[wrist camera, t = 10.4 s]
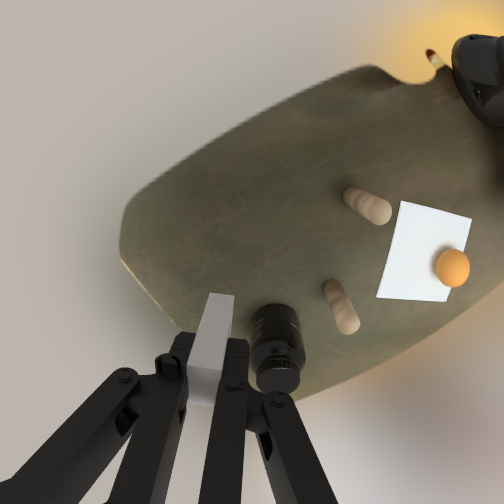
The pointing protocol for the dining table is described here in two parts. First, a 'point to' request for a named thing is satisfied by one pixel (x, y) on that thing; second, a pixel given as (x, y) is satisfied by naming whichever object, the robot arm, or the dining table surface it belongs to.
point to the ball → (452, 268)
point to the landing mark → (420, 252)
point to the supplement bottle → (276, 349)
